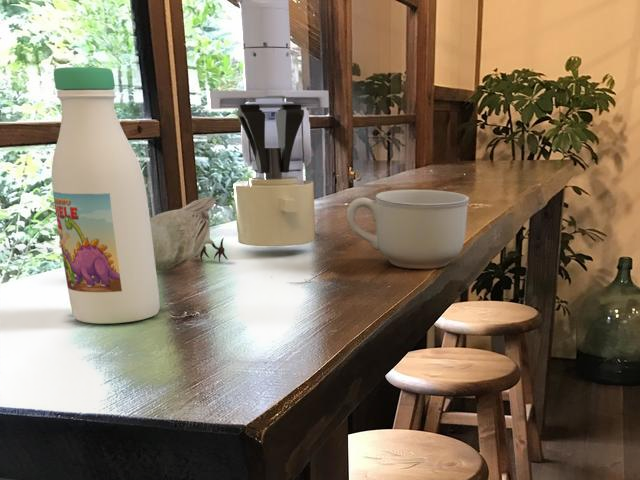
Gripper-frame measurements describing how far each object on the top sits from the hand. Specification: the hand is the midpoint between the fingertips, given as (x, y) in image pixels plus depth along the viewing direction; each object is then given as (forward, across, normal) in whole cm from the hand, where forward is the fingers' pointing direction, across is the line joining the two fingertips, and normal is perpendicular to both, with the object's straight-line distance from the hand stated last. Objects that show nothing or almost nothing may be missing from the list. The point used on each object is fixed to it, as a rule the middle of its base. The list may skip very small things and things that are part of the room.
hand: (273, 172), depth 101 cm
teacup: (+10, +12, -16) cm, 22 cm away
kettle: (+8, 0, 0) cm, 8 cm away
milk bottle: (+10, -23, -29) cm, 38 cm away
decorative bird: (+10, -15, -9) cm, 20 cm away
